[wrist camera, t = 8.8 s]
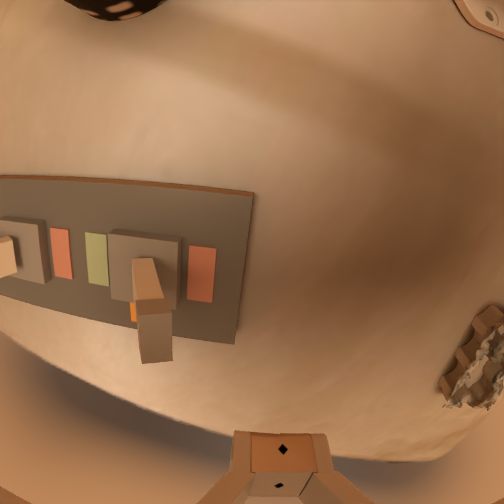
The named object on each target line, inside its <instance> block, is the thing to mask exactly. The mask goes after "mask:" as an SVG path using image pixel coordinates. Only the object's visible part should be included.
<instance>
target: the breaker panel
mask: <svg viewBox="0 0 504 504" xmlns="http://www.w3.org/2000/svg"><path fill="white" fill-rule="evenodd" d="M252 201H253V192H246V191H237V190H229V189H220V188H211V187H202V186H192V185H182V184H171V183H160V182H148V181H135V180H120V179H104V178H85V177H62V176H18V175H0V238H2V237H5V236H9V237H10V238H11V239H12V241H13V249H14V255H15V262H16V268H17V273H14V274H11V275H8V276H5V277H2V278H0V295H3V296H6V297H10V298H13V299H16V300H19V301H23V302H26V303H30V304H33V305H37V306H40V307H44V308H48V309H51V310H55V311H59V312H63V313H67V314H71V315H75V316H79V317H83V318H87V319H92V320H96V321H100V322H105V323H109V324H114V325H119V326H124V327H129V328H134V329H137V319H136V312H135V305H134V298H133V282H132V259H135V258H153V262H154V265H155V269H156V272H157V276H158V279H159V283H160V286H161V289H162V293H163V296H164V298H167V300H168V303H169V306H170V309H171V312H172V336H178V337H184V338H191V339H197V340H204V341H211V342H219V343H226V344H234V343H235V335H236V327H237V319H238V311H239V303H240V295H241V287H242V279H243V271H244V263H245V256H246V248H247V240H248V232H249V224H250V217H251V209H252Z"/></svg>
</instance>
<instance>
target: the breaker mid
mask: <svg viewBox="0 0 504 504" xmlns="http://www.w3.org/2000/svg"><path fill="white" fill-rule="evenodd" d="M14 273H17V268H16V262H15V255H14V249H13V241H12V239H11V238H10V237H9V236H5V237H2V238H0V278H2V277H5V276H8V275H11V274H14Z"/></svg>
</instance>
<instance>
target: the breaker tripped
mask: <svg viewBox="0 0 504 504" xmlns="http://www.w3.org/2000/svg"><path fill="white" fill-rule="evenodd" d="M132 282H133V298H134V305H135V312H136V319H137V329H138V341H139V349H140V355H141V360H142V364H145V363H156V362H166V361H173V357H172V312H171V309H170V306H169V303H168V300H167V298H164V296H163V293H162V289H161V286H160V283H159V279H158V276H157V272H156V269H155V265H154V262H153V258H135V259H132Z"/></svg>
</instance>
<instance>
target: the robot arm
mask: <svg viewBox="0 0 504 504" xmlns="http://www.w3.org/2000/svg"><path fill="white" fill-rule="evenodd" d="M454 1H455V3H456V4H457V6H458V8H459V9H460V11H461V13H462V14H463V16H464V17H465V19H466V20H467V21H468V22H469V23H470V24H471V25H472V26H474V27H476V28H478V29H480V30H483V31H486V32H488V33H491V34H493V35H496V36H498V37H501V38H503V39H504V0H454ZM486 16H487V17H486ZM249 496H260V497H264V496H265V497H268V496H269V497H273V496H274V497H276V496H277V497H299V499H300V500H301V501H302V502H303V504H374V503H373V502H372V501H371V500H370V499H369V498H367V497H366V496H365V495H364V494H363V493H362V492H361V491H359V490H358V489H357V488H356V487H355V486H354V485H353V484H351V483H350V482H349V481H348V480H347V479H346V478H345V477H344V476H343V475H341V473H339V472H334V468H333V463H332V459H331V454H330V450H329V445H328V441H327V436H326V435H325V434H324V433H320V434H309V433H280V434H273V433H259V432H248V431H236V430H235V431H234V436H233V443H232V450H231V458H230V471H227V473H226V474H225V475H224V476H223V477H222V478H221V479H220V480H219V481H218V482H217V483H216V484H215V485H214V487H213V488H212V489H211V490H210V491H209V492H208V493H207V494H206V495H205V496H204V497H203V498H202V499H201V500H200V501H199V502H198V503H197V504H244V503H245V502H246V501H247V499H248V498H249ZM0 504H31V503H30V502H27V501H26V500H24V499H22V498H20V497H18V496H16V495H15V494H13V493H11V492H9V491H7V490H6V489H4V488H2V487H0ZM492 504H504V498H502V499H500V500H498V501H496V502H494V503H492Z"/></svg>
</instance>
